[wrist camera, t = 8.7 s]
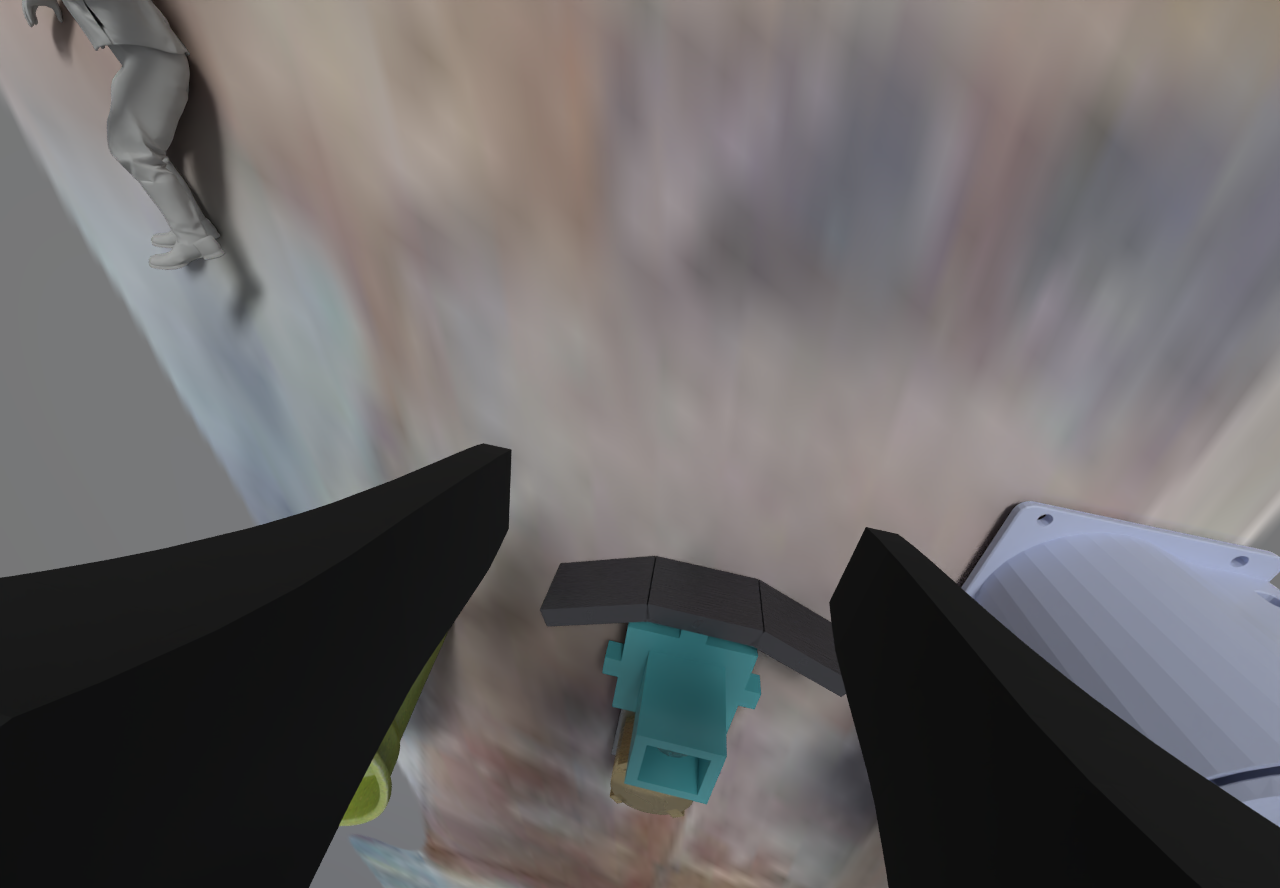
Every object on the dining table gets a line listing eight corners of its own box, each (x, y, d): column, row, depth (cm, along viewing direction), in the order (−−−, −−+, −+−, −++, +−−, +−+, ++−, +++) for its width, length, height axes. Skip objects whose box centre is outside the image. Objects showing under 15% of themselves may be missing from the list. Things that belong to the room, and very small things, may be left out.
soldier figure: (158, 227, 20) (-240, -300, 11) (286, 197, 21) (29, -273, 13) (153, 293, 15) (-540, -525, 6) (317, 248, 17) (-53, -432, 8)
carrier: (855, 601, 22) (890, 703, 17) (764, 775, 28) (773, 880, 24) (563, 534, 22) (525, 616, 18) (543, 719, 29) (512, 811, 25)
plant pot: (509, 589, 25) (414, 763, 17) (452, 680, 29) (356, 852, 21) (343, 500, 23) (161, 643, 16) (309, 609, 28) (154, 764, 20)
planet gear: (778, 630, 22) (793, 739, 17) (737, 727, 25) (741, 838, 21) (617, 594, 22) (592, 691, 18) (599, 694, 26) (575, 796, 21)
